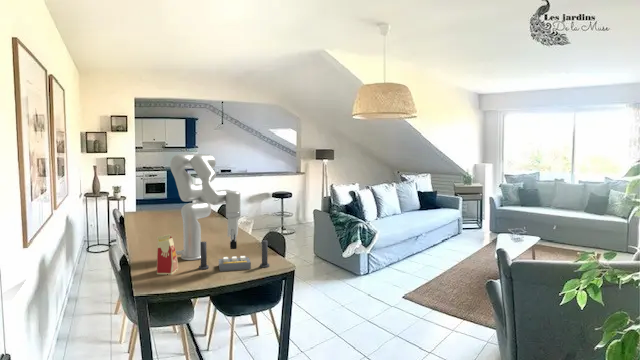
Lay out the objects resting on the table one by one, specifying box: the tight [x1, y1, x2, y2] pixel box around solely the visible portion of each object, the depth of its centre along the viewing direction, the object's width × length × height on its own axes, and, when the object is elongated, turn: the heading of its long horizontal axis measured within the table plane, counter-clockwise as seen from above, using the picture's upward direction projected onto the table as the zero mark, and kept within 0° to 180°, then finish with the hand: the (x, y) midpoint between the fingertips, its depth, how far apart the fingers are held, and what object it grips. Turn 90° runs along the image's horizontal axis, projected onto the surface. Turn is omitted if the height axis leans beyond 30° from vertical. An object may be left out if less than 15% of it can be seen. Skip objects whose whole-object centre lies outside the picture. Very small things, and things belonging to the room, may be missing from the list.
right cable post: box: [259, 239, 270, 269], centre depth 215 cm, size 5×5×14 cm
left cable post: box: [198, 241, 209, 271], centre depth 210 cm, size 5×5×14 cm
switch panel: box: [218, 255, 252, 272], centre depth 213 cm, size 16×10×6 cm, turn 107°
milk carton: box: [156, 233, 179, 276], centre depth 203 cm, size 9×9×20 cm
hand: (233, 248), depth 212 cm, fingers closed
